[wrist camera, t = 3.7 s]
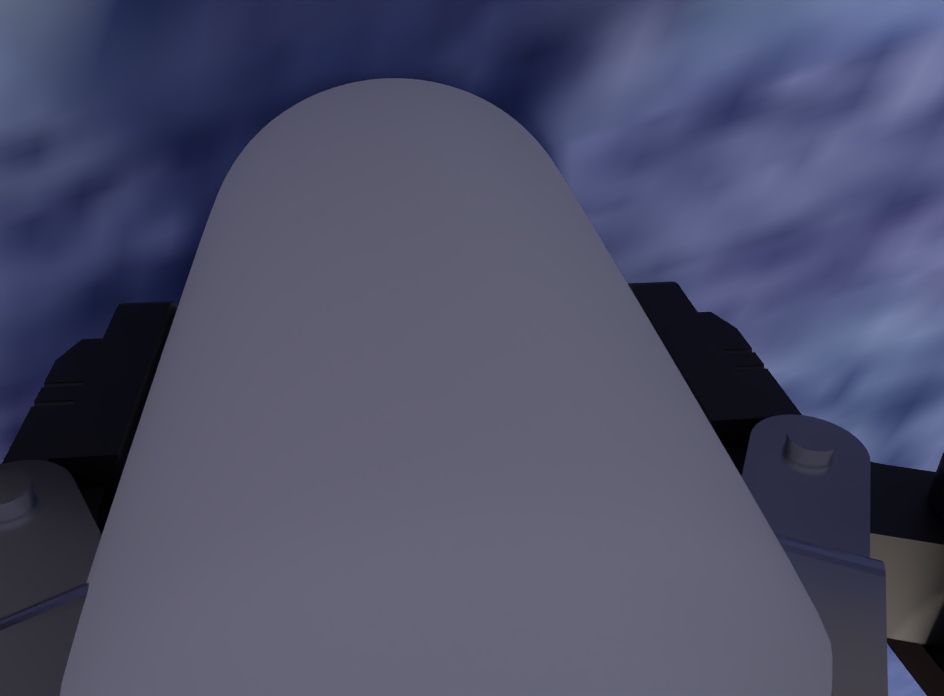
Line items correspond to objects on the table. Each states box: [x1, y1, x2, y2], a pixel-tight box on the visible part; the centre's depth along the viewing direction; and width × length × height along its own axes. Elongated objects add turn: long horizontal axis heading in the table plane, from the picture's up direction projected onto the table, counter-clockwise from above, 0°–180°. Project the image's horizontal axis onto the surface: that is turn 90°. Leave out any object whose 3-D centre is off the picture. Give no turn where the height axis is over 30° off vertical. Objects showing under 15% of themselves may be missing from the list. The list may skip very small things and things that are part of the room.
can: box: [60, 78, 832, 696], centre depth 11 cm, size 6×6×12 cm
